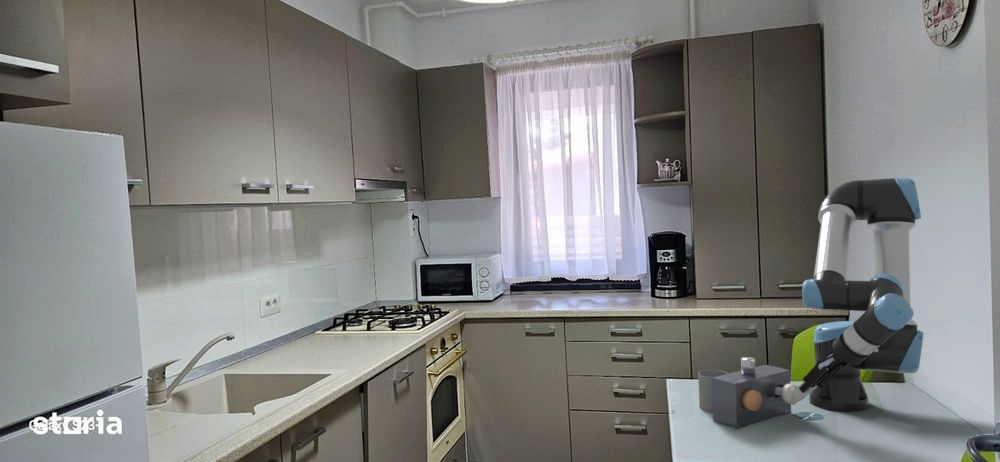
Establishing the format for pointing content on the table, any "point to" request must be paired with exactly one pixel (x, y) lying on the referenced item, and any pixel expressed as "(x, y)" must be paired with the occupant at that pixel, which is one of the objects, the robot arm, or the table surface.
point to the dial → (748, 365)
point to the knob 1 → (752, 400)
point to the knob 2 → (787, 393)
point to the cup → (707, 388)
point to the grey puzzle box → (733, 388)
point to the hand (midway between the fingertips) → (796, 396)
